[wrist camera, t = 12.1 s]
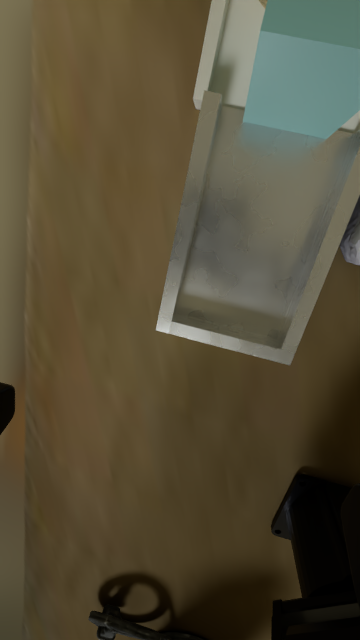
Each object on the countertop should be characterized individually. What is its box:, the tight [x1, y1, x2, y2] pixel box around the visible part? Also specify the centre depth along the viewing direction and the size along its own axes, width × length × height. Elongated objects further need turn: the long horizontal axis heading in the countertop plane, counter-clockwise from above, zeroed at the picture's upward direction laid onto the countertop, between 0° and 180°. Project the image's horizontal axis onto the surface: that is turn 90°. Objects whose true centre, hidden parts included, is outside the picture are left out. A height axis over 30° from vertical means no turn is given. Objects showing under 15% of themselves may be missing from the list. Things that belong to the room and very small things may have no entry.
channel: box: [156, 90, 360, 365], centre depth 16 cm, size 12×8×2 cm
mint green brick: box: [243, 0, 360, 139], centre depth 10 cm, size 4×4×7 cm
